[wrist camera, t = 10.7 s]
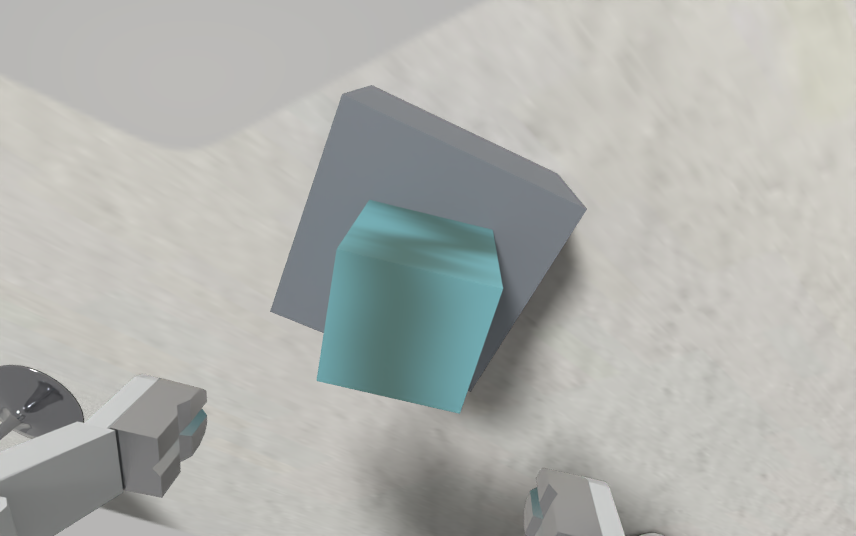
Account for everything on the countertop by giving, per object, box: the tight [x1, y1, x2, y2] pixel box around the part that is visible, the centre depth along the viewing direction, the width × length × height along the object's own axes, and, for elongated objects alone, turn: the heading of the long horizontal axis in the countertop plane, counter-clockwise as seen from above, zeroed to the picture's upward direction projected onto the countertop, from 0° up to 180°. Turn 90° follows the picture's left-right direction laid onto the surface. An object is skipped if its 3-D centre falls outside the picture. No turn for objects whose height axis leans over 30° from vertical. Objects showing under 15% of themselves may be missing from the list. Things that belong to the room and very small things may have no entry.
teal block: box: [317, 200, 503, 414], centre depth 16 cm, size 5×5×5 cm
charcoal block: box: [270, 85, 587, 392], centre depth 21 cm, size 10×10×6 cm
